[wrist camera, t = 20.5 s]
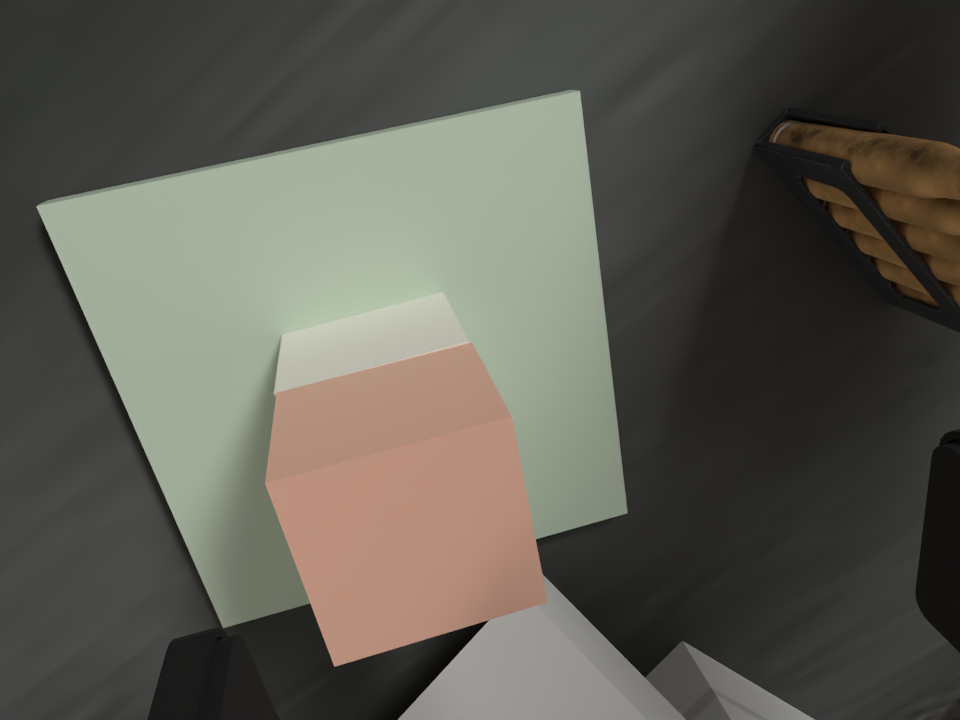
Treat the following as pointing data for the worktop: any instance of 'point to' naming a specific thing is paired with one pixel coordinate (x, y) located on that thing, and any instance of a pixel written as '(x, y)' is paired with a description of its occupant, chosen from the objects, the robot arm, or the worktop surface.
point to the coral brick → (403, 502)
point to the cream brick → (367, 341)
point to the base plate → (348, 309)
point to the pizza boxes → (583, 677)
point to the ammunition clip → (879, 203)
